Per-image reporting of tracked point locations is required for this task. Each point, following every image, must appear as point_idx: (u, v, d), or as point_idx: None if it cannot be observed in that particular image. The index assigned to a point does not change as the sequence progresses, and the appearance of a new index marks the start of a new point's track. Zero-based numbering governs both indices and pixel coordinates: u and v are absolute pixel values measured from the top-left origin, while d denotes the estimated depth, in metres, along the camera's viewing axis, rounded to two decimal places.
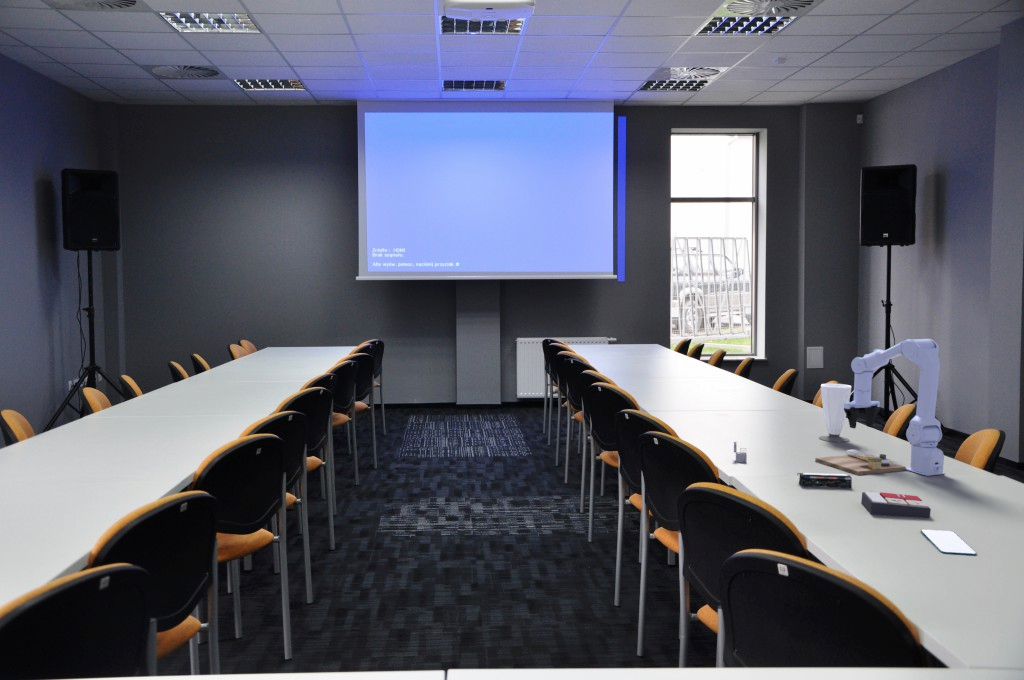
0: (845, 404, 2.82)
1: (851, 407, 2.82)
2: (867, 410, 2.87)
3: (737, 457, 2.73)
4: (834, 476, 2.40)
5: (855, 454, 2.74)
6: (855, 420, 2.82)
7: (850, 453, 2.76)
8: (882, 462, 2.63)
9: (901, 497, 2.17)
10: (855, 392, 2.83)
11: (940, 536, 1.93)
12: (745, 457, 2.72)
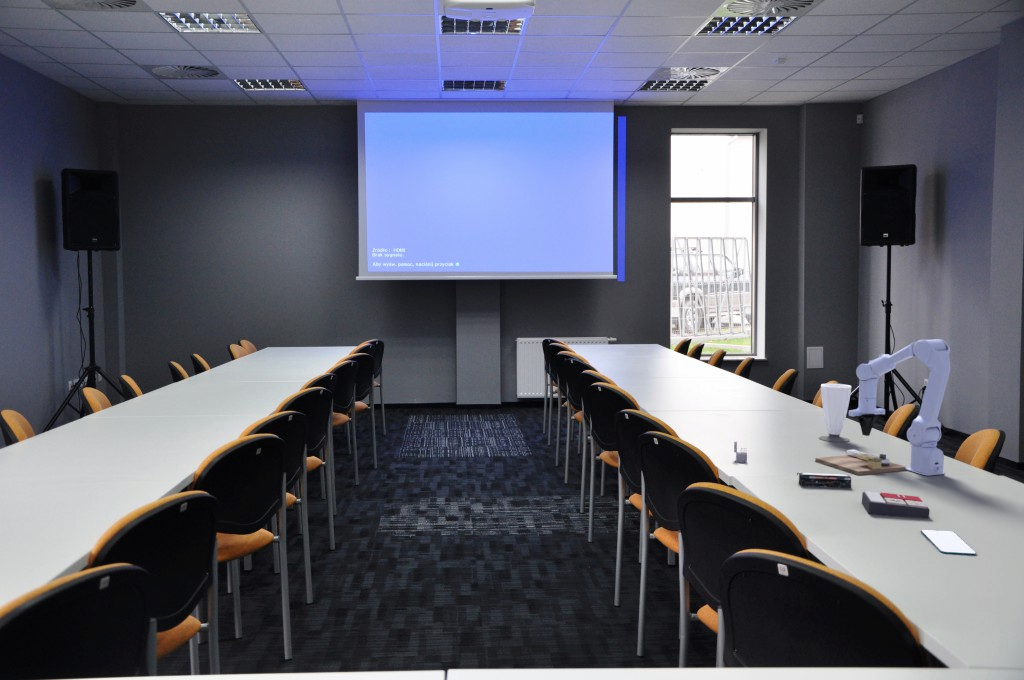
0: (850, 412, 2.76)
1: (864, 414, 2.77)
2: None
3: (737, 457, 2.73)
4: (833, 476, 2.40)
5: (855, 454, 2.74)
6: (868, 427, 2.77)
7: (850, 453, 2.76)
8: (882, 462, 2.63)
9: (901, 497, 2.17)
10: (860, 399, 2.78)
11: (940, 536, 1.93)
12: (745, 457, 2.72)
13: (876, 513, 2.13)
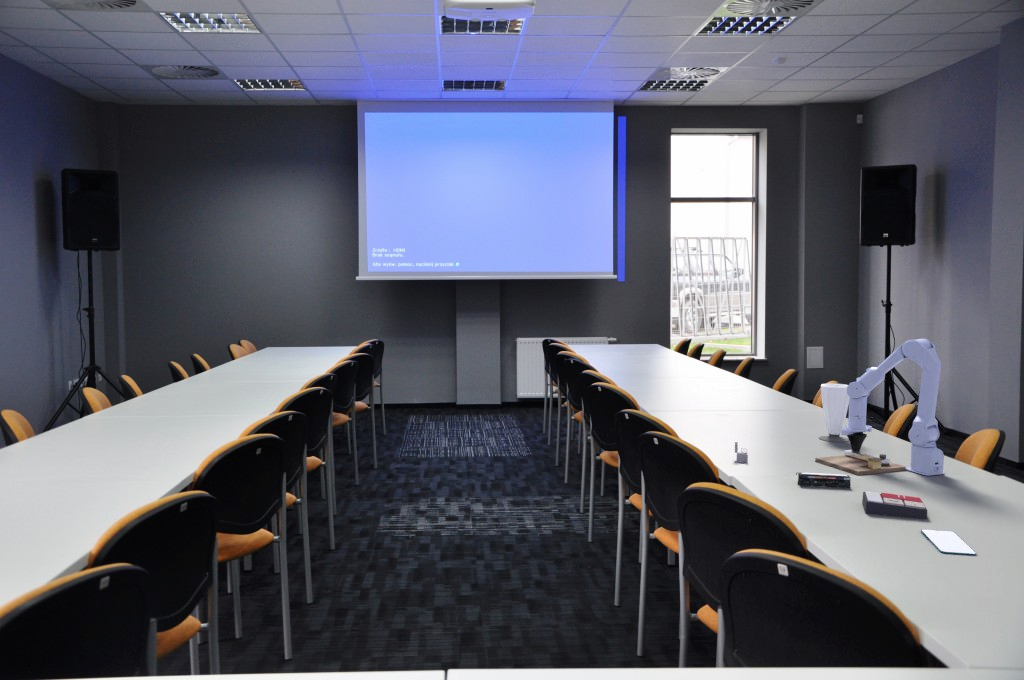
0: (843, 431, 2.73)
1: None
2: None
3: (738, 457, 2.73)
4: (833, 476, 2.40)
5: (853, 454, 2.74)
6: (859, 445, 2.76)
7: (848, 453, 2.76)
8: (883, 462, 2.63)
9: (901, 498, 2.17)
10: (851, 418, 2.75)
11: (940, 536, 1.93)
12: (746, 457, 2.71)
13: (873, 513, 2.13)
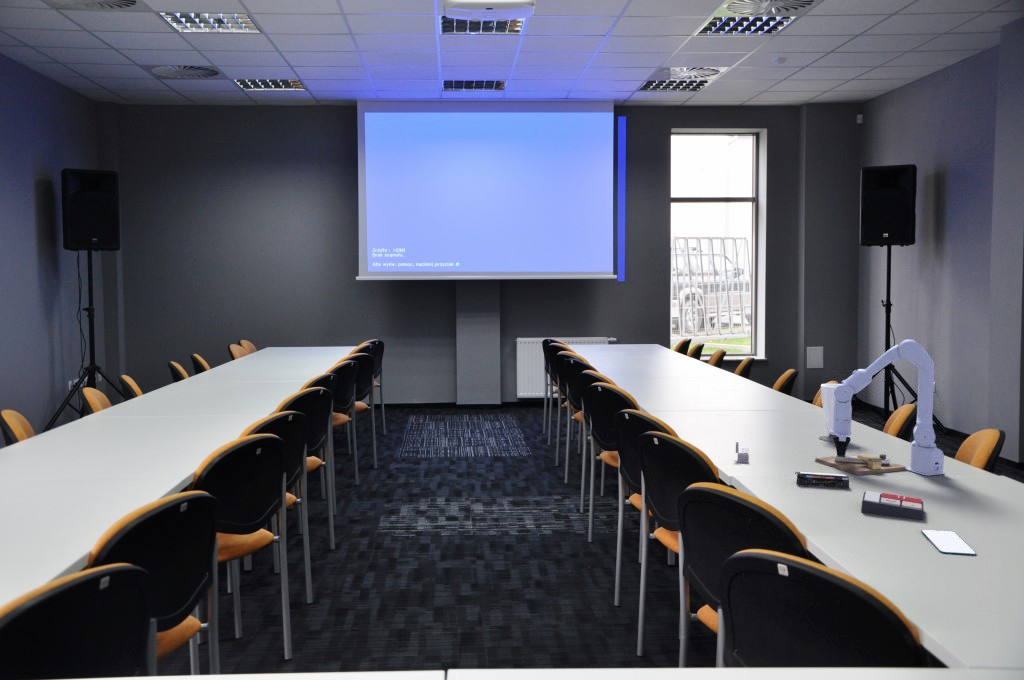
0: (841, 437, 2.64)
1: None
2: None
3: (739, 457, 2.72)
4: (831, 476, 2.40)
5: (848, 459, 2.67)
6: None
7: (841, 459, 2.67)
8: (888, 462, 2.63)
9: (900, 498, 2.16)
10: (841, 422, 2.67)
11: (940, 536, 1.93)
12: (747, 457, 2.71)
13: (869, 512, 2.14)
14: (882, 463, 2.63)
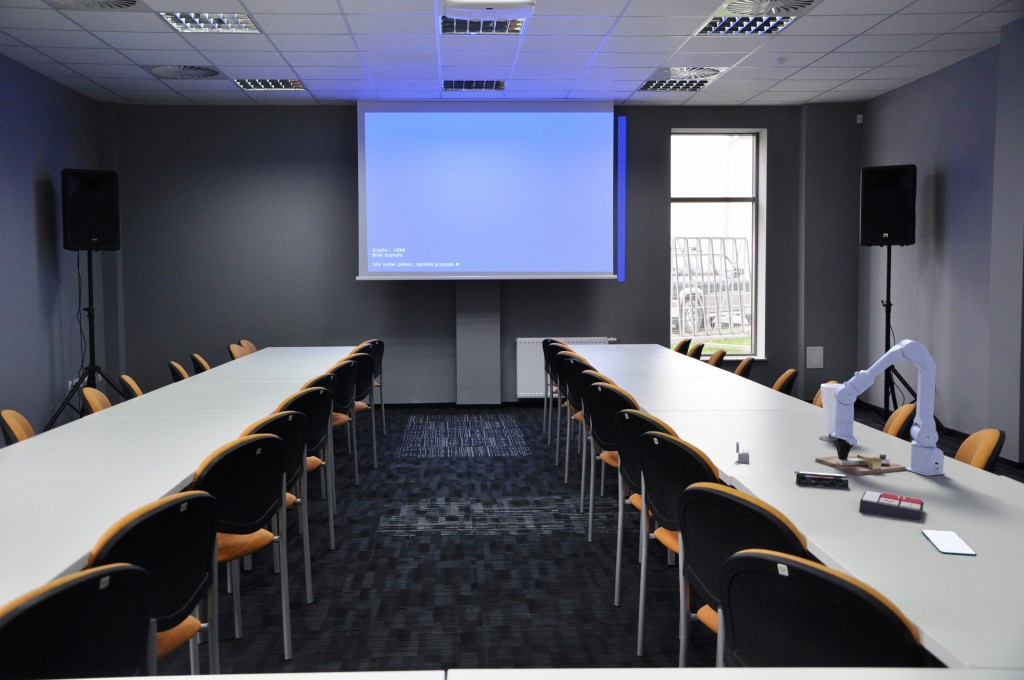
0: (853, 440, 2.58)
1: None
2: None
3: (740, 457, 2.72)
4: (830, 476, 2.40)
5: (854, 462, 2.62)
6: None
7: (847, 463, 2.62)
8: (889, 462, 2.63)
9: (900, 499, 2.16)
10: (846, 425, 2.62)
11: (941, 536, 1.93)
12: (748, 457, 2.71)
13: (866, 511, 2.14)
14: (885, 463, 2.62)
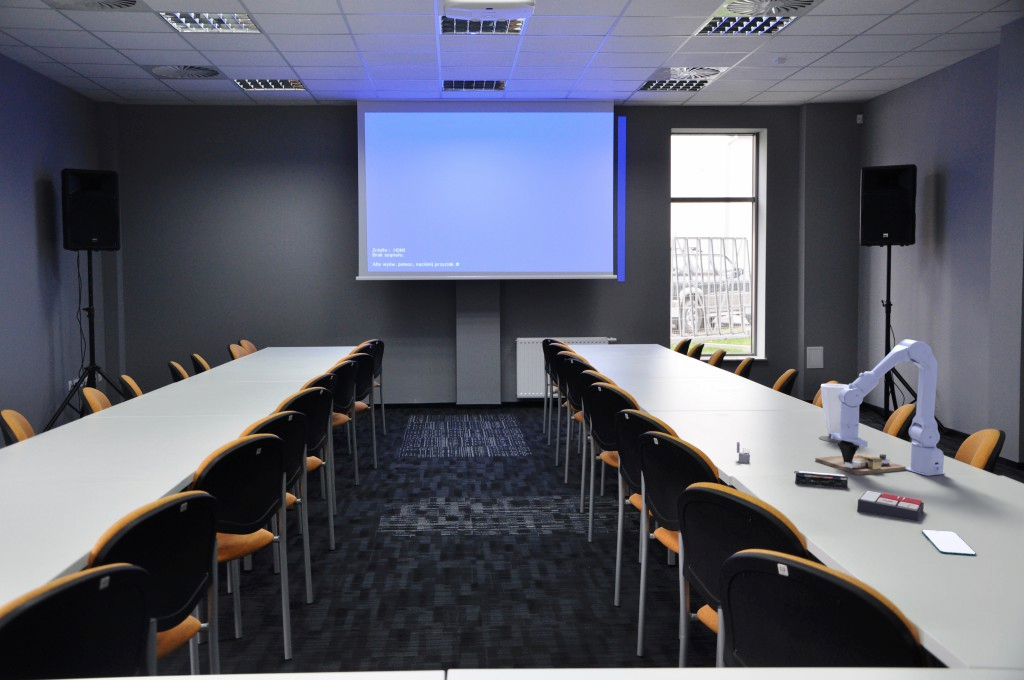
0: (864, 442, 2.54)
1: None
2: None
3: (740, 457, 2.72)
4: (829, 476, 2.41)
5: (861, 464, 2.59)
6: None
7: (856, 465, 2.58)
8: (889, 461, 2.64)
9: (899, 499, 2.15)
10: (854, 427, 2.58)
11: (941, 536, 1.93)
12: (748, 457, 2.71)
13: (864, 511, 2.14)
14: (887, 463, 2.62)
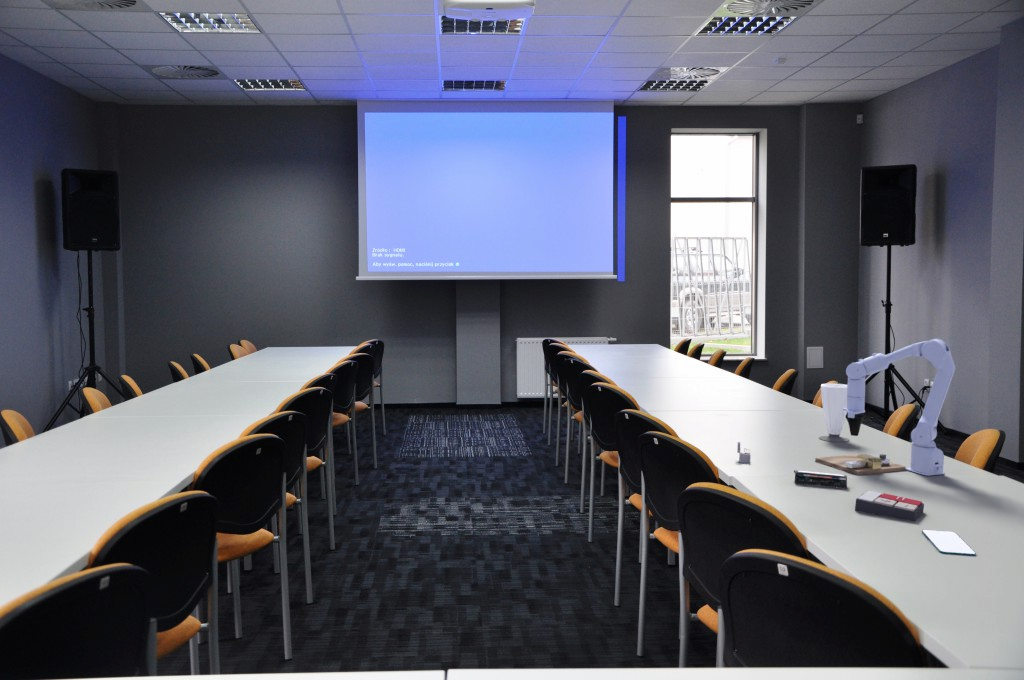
0: (850, 413, 2.66)
1: (855, 414, 2.70)
2: None
3: (741, 457, 2.72)
4: (828, 475, 2.41)
5: (861, 464, 2.59)
6: (859, 427, 2.71)
7: (856, 465, 2.58)
8: (889, 461, 2.64)
9: (898, 499, 2.15)
10: (852, 399, 2.70)
11: (941, 536, 1.93)
12: (749, 457, 2.71)
13: (862, 510, 2.15)
14: (887, 463, 2.62)
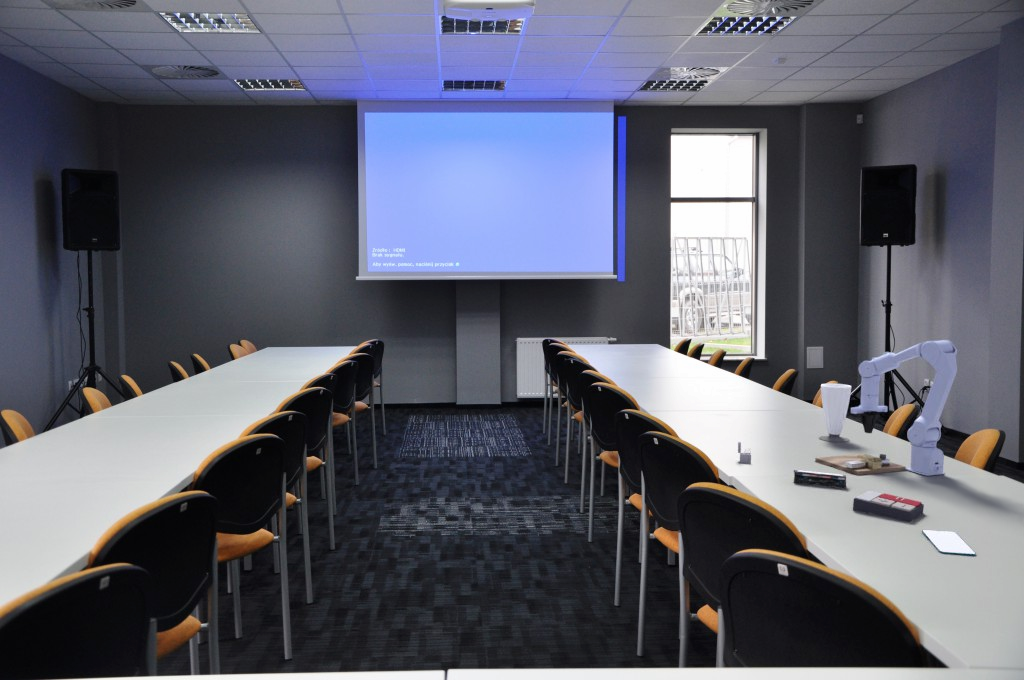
0: (852, 409, 2.74)
1: (866, 411, 2.75)
2: None
3: (741, 458, 2.72)
4: (827, 475, 2.41)
5: (861, 464, 2.59)
6: (870, 425, 2.75)
7: (856, 465, 2.58)
8: (889, 461, 2.64)
9: (897, 500, 2.15)
10: (862, 397, 2.75)
11: (941, 536, 1.93)
12: (749, 458, 2.71)
13: (859, 510, 2.15)
14: (887, 463, 2.62)
